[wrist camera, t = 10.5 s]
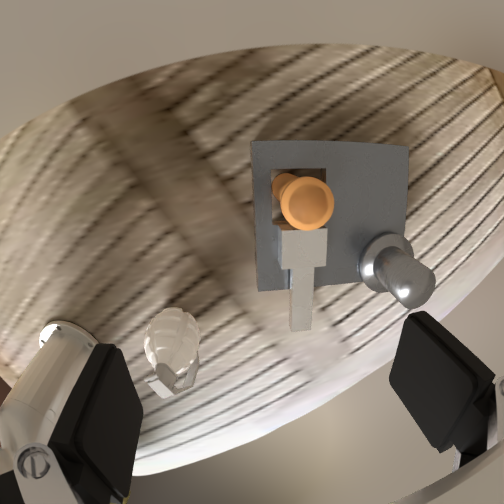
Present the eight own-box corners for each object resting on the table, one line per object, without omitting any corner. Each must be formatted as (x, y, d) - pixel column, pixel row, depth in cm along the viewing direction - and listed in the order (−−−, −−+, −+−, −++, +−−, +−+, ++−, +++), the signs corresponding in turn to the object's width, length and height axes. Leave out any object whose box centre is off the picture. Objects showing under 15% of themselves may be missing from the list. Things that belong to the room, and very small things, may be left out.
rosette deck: (377, 283, 37) (429, 337, 24) (254, 296, 36) (267, 367, 24) (387, 145, 30) (459, 151, 18) (247, 143, 30) (259, 137, 17)
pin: (304, 205, 32) (333, 229, 23) (267, 207, 32) (282, 232, 23) (304, 168, 31) (334, 177, 22) (266, 169, 31) (281, 178, 21)
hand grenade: (218, 332, 37) (216, 407, 25) (179, 350, 38) (165, 423, 26) (185, 286, 35) (166, 355, 22) (144, 307, 35) (114, 376, 23)
